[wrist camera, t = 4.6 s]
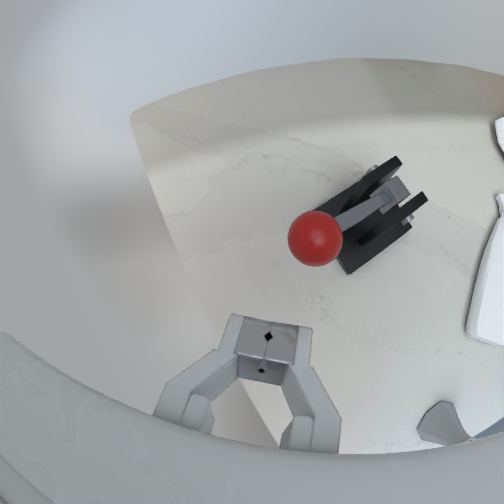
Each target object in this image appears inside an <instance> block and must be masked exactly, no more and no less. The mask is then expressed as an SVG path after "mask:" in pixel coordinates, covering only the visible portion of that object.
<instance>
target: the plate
mask: <svg viewBox="0 0 504 504" xmlns="http://www.w3.org/2000/svg"><path fill="white" fill-rule="evenodd" d="M495 129H496V135H497V141H498V144H499V146H500V147H501V149H502V151H503V152H504V117H502V118H500V119H498V120H496V121H495Z"/></svg>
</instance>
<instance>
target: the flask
mask: <svg viewBox="0 0 504 504" xmlns="http://www.w3.org/2000/svg"><path fill="white" fill-rule="evenodd" d="M417 430H418V432H419V435H420V437H421V439H422V440H425V441H429V442H433V443H437V444H441V445H445V446H450V445H455V444H459V443H464V442H468V441H472V440H476V438H475V437H470V436H469V435H468V434H467V433H466V431H465V430H464V429H463V427H462V425H461V422H460V420H459V418H458V415H457V413H456V410H455V407H454V405H453V403H448V402H443V401H440V402H439V403H438V404H437V405H436V406H434V407H433V408H432V409H431V410H429V411H428V412H427V413H426V414H425V416H424V418H423V420H422V421H421V423H420V425H419V427H418V428H417Z"/></svg>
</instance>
